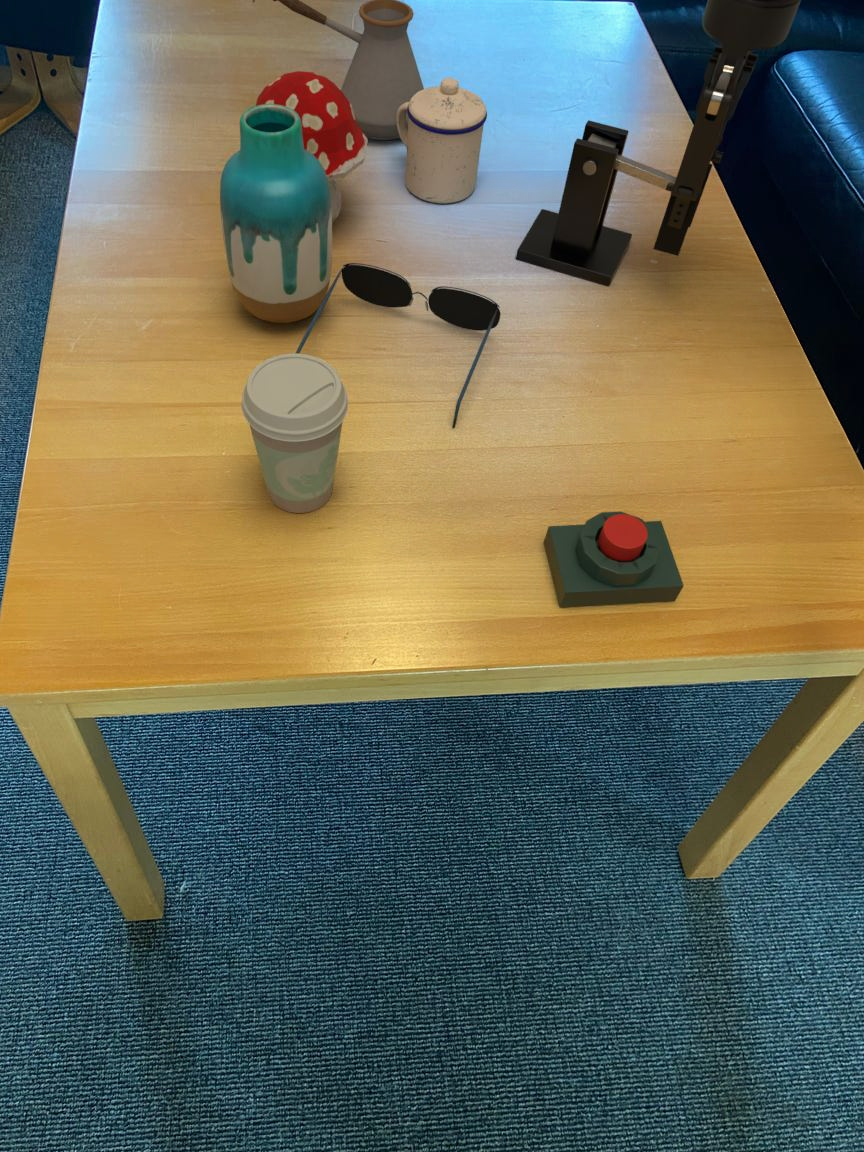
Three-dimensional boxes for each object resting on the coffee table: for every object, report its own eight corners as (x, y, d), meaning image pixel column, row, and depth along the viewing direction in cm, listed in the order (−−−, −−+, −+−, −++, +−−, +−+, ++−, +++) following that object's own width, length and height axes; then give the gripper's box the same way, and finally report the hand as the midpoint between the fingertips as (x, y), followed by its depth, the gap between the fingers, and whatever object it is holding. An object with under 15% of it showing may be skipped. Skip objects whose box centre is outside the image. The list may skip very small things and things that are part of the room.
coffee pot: (425, 104, 115) (435, -30, 102) (426, 150, 108) (438, 14, 96) (265, 96, 114) (255, -39, 101) (257, 142, 108) (246, 4, 95)
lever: (693, 191, 90) (704, 169, 88) (683, 215, 88) (694, 193, 86) (587, 149, 91) (595, 126, 89) (574, 172, 89) (582, 149, 87)
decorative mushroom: (254, 258, 95) (241, 116, 82) (240, 187, 102) (226, 47, 90) (377, 248, 97) (382, 108, 84) (355, 179, 104) (357, 41, 92)
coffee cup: (262, 533, 74) (250, 431, 64) (244, 462, 79) (230, 356, 69) (358, 515, 76) (360, 413, 66) (335, 447, 80) (334, 341, 70)
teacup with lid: (492, 186, 105) (507, 83, 95) (442, 215, 101) (452, 111, 91) (421, 146, 109) (429, 44, 99) (370, 172, 105) (373, 68, 95)
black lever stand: (629, 243, 100) (664, 129, 89) (609, 286, 95) (643, 172, 84) (539, 218, 102) (563, 103, 91) (515, 259, 97) (537, 143, 86)
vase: (226, 338, 88) (200, 147, 72) (238, 274, 93) (217, 84, 77) (329, 343, 88) (327, 155, 72) (335, 279, 94) (334, 91, 77)
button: (635, 526, 72) (641, 512, 70) (646, 560, 70) (653, 547, 68) (593, 528, 71) (598, 514, 70) (603, 562, 70) (609, 549, 68)
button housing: (653, 536, 76) (668, 506, 73) (675, 601, 72) (691, 572, 69) (543, 542, 75) (552, 512, 72) (559, 607, 71) (570, 579, 68)
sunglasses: (498, 335, 90) (504, 298, 85) (454, 442, 84) (458, 408, 79) (344, 294, 92) (342, 256, 88) (292, 395, 86) (286, 359, 82)
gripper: (736, -66, 78) (658, 186, 98) (694, 12, 69) (617, 272, 89) (819, -49, 77) (723, 203, 96) (787, 33, 68) (688, 293, 87)
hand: (672, 235), depth 92 cm, fingers closed on lever, 5 cm apart
